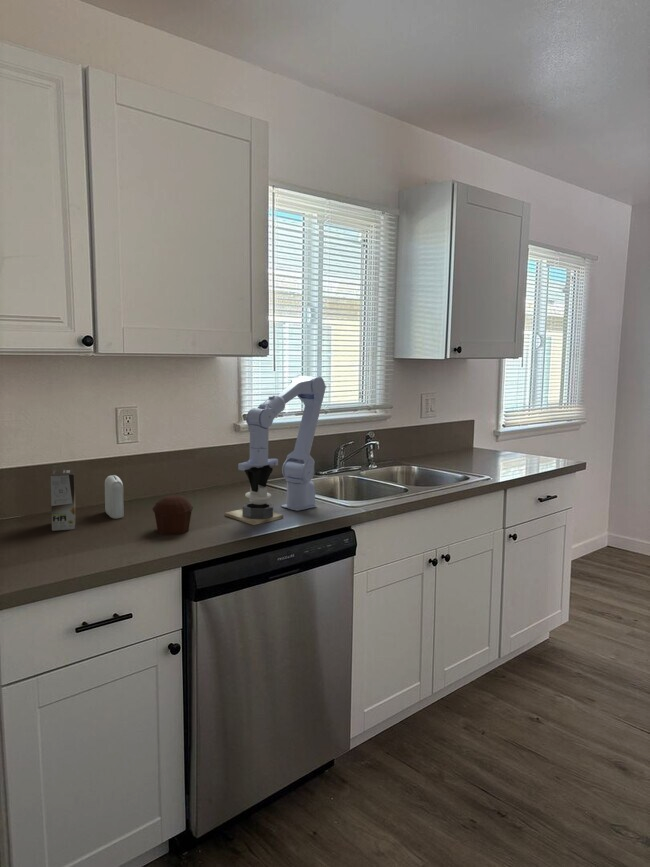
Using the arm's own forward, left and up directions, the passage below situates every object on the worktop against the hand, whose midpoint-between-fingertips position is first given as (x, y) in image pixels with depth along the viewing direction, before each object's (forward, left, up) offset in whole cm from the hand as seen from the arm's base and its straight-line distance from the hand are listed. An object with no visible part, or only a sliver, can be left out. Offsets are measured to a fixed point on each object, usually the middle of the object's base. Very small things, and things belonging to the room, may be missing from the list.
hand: (258, 490), depth 204 cm
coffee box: (+48, -30, -9) cm, 57 cm away
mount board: (0, -2, -9) cm, 9 cm away
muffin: (+27, -6, -9) cm, 29 cm away
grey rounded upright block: (+31, -32, -9) cm, 45 cm away
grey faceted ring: (0, 0, -9) cm, 9 cm away
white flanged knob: (0, 0, -4) cm, 4 cm away
